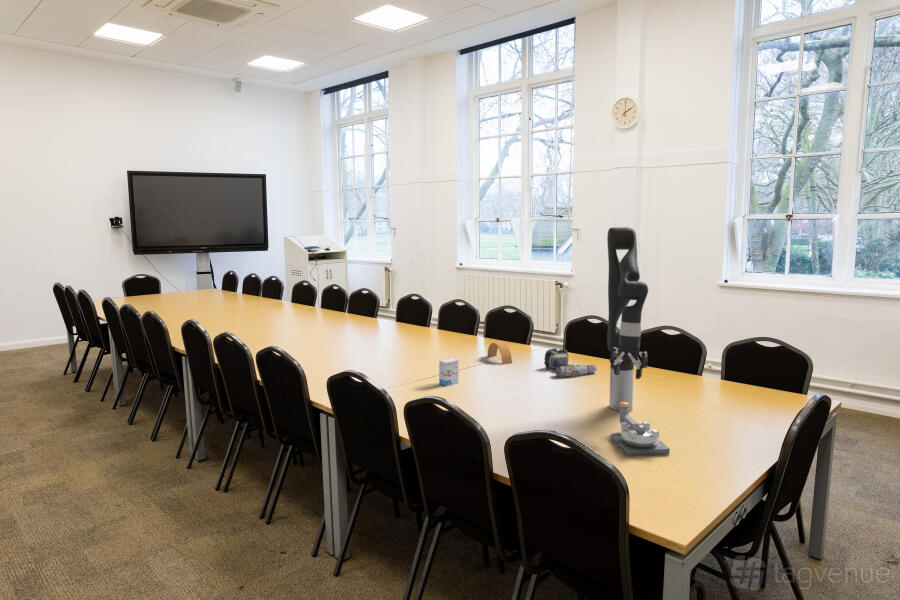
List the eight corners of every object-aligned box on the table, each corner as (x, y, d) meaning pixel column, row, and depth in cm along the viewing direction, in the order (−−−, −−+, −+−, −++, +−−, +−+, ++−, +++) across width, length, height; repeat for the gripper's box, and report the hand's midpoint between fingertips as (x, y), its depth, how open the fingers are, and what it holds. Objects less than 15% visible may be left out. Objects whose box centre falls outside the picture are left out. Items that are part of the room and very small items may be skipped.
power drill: (537, 369, 305) (537, 348, 304) (573, 364, 314) (574, 345, 312) (560, 379, 285) (561, 358, 284) (598, 374, 294) (599, 353, 292)
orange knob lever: (606, 424, 217) (606, 402, 215) (637, 423, 217) (638, 401, 216) (628, 448, 194) (629, 423, 193) (663, 446, 195) (664, 422, 194)
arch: (502, 364, 315) (502, 346, 314) (487, 356, 334) (487, 339, 332) (511, 363, 317) (511, 345, 316) (496, 355, 336) (496, 338, 334)
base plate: (610, 439, 208) (610, 433, 208) (651, 437, 209) (651, 432, 209) (625, 456, 193) (625, 450, 193) (669, 454, 194) (669, 448, 194)
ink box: (445, 386, 276) (445, 362, 274) (439, 384, 279) (438, 360, 278) (459, 383, 281) (458, 359, 280) (452, 380, 285) (451, 357, 283)
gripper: (652, 336, 215) (649, 379, 216) (618, 331, 225) (615, 372, 226) (643, 337, 210) (640, 381, 211) (607, 332, 220) (605, 374, 221)
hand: (627, 376), depth 218 cm, fingers open, 8 cm apart
